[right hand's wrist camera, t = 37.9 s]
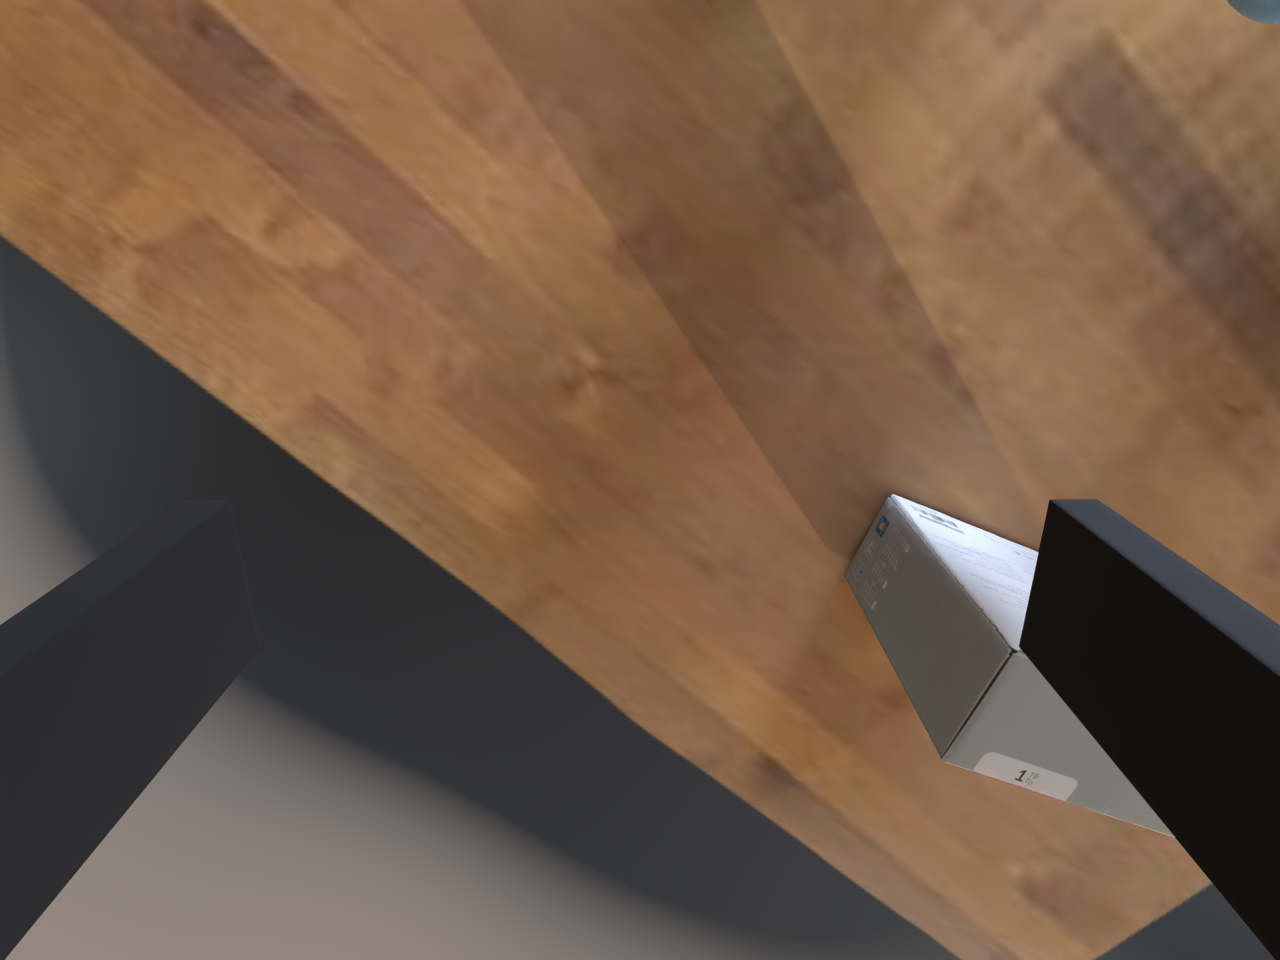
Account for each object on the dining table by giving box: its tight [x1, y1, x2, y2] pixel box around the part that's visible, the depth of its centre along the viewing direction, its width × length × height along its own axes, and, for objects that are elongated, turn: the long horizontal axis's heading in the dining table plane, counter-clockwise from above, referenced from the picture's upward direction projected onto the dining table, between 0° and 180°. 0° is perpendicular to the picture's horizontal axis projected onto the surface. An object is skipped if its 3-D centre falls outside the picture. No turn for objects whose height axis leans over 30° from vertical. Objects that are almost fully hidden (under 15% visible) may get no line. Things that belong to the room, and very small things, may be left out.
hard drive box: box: [845, 494, 1175, 838], centre depth 49 cm, size 16×8×20 cm, turn 68°
